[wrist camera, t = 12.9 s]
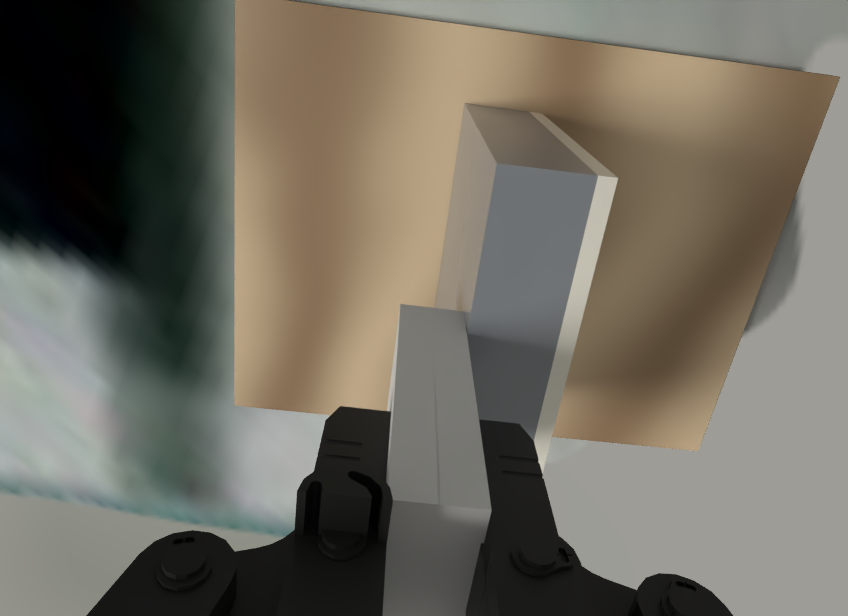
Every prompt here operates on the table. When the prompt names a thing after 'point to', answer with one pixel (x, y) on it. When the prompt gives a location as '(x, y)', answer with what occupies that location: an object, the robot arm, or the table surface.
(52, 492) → the table surface
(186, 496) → the table surface
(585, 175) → the tile
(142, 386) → the table surface
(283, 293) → the mat
